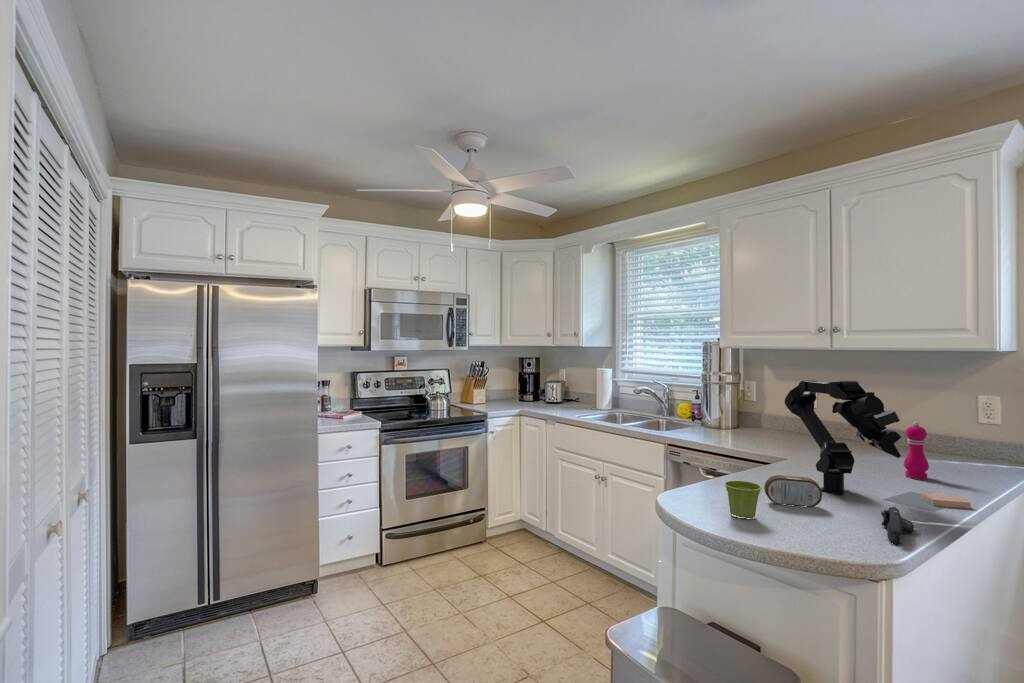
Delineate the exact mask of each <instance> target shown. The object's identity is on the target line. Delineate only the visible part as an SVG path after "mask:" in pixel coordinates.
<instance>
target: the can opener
mask: <svg viewBox="0 0 1024 683" xmlns="http://www.w3.org/2000/svg"><path fill="white" fill-rule="evenodd" d="M879 514H880V515H881V516H882V518H883V519H882V522H881V526H882V527H884V528H886V529H887V538H888V541H889V543H890V542H891V543H893V544H900V545H901V536H903V534H907V533H908V535H912V534H913V532H914V528H915V526H914V524H913V522H912V521H911V520H909V519H906V518H904V517H901V512H900V510H899V509H898V508H897V507H896V506H891V507H888V509H887V510H886V509H883V510H882V509H881V510H880V513H879ZM891 543H890V544H891ZM893 544H892V545H893Z"/></svg>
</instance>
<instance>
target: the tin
mask: <svg viewBox="0 0 1024 683" xmlns="http://www.w3.org/2000/svg"><path fill="white" fill-rule="evenodd" d="M821 488H822V487H821V486H820V485H819V483H817V481H815V480H814V479H813V478H810V477H805V476H804V477H803V476H793V475H792V476H791V475H779V474H777V475H773V476H771V477H769V478H768V479H767V480H766V481H765V484H764V493H765V496H766V497H767V499H768V500H770V501H771V502H772V503H774V504H775V503H776V505H779V504H786V505H785V506H787V505H794V506H793V507H797V506H807V507H810V508H814V507H816V506H818V505H819V504H820V503H821V501H822V499H823V491H822V490H821ZM807 507H806V508H807Z"/></svg>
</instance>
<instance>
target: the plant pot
mask: <svg viewBox="0 0 1024 683" xmlns="http://www.w3.org/2000/svg"><path fill="white" fill-rule="evenodd" d="M724 486H725V487H726V491H727V498H728V504H729V512H730V513H731V514H733V515H736V516H739V517H745V518H753V517H755V518H756V512H757V507H758V506H757V505H758V501H759V500H758V498H759V495H760V493H761V490H762V489H763V487H762V486H761V485H760V484H758V483H755V482H752V481H744V480H728V481H725V482H724ZM731 514H730V515H731Z"/></svg>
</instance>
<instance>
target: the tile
mask: <svg viewBox="0 0 1024 683" xmlns="http://www.w3.org/2000/svg"><path fill="white" fill-rule="evenodd" d="M921 494H922V499H923V500H925V501H926V502H928V503H930V504H931V505H933V506H942V507H945V508H954V509H956V508H958V509H972V508H971V504H972V503H971V501H969V500H967V499H965V498H963V497H961V496H959V495H952V494H951V495H950V494H940V493H939V494H938V493H937V494H936V493H925V492H923V493H921Z"/></svg>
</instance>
